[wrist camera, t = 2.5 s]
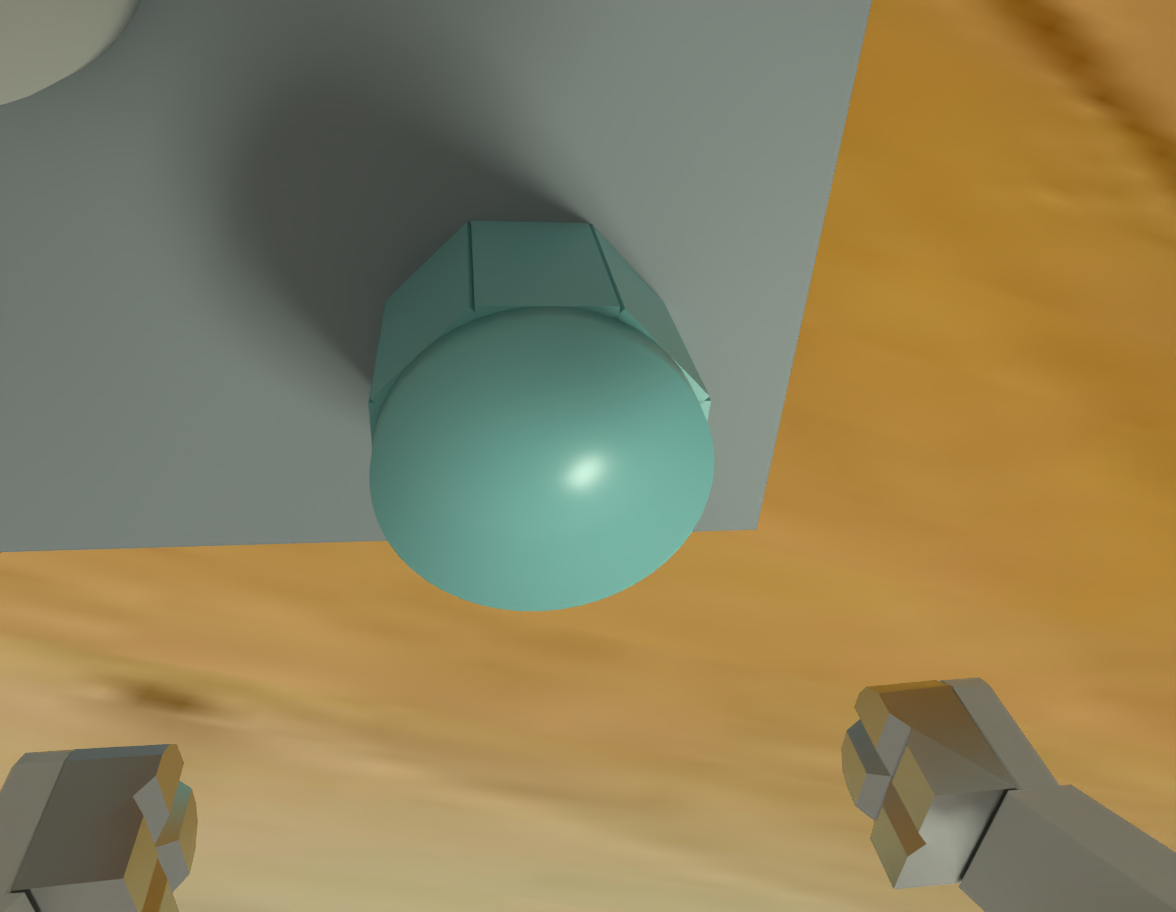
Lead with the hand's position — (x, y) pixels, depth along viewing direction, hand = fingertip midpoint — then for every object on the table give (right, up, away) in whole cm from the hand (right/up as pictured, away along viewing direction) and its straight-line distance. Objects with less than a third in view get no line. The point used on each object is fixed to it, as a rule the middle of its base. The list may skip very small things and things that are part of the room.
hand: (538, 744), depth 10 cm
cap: (-1, +6, +8) cm, 10 cm away
